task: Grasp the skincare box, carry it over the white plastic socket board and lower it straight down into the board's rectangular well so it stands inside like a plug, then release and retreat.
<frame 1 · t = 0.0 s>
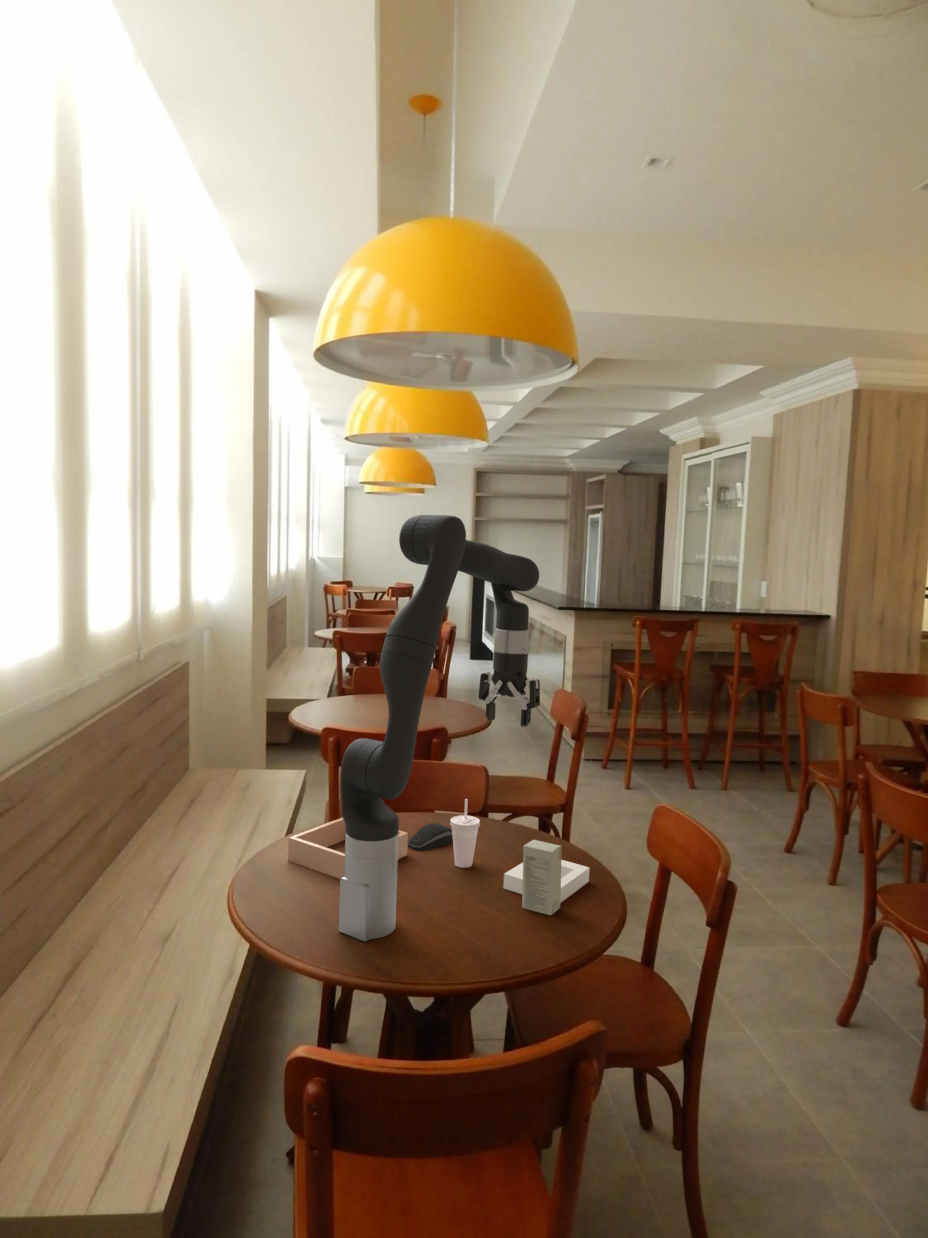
hand: (507, 723, 174), 29 cm above the table, fingers open, 8 cm apart
skincare box: (540, 909, 150), on the table
computer mouse: (431, 844, 181), on the table
socket board: (546, 885, 160), on the table
pink square tray: (348, 858, 170), on the table
smoothie: (463, 865, 169), on the table
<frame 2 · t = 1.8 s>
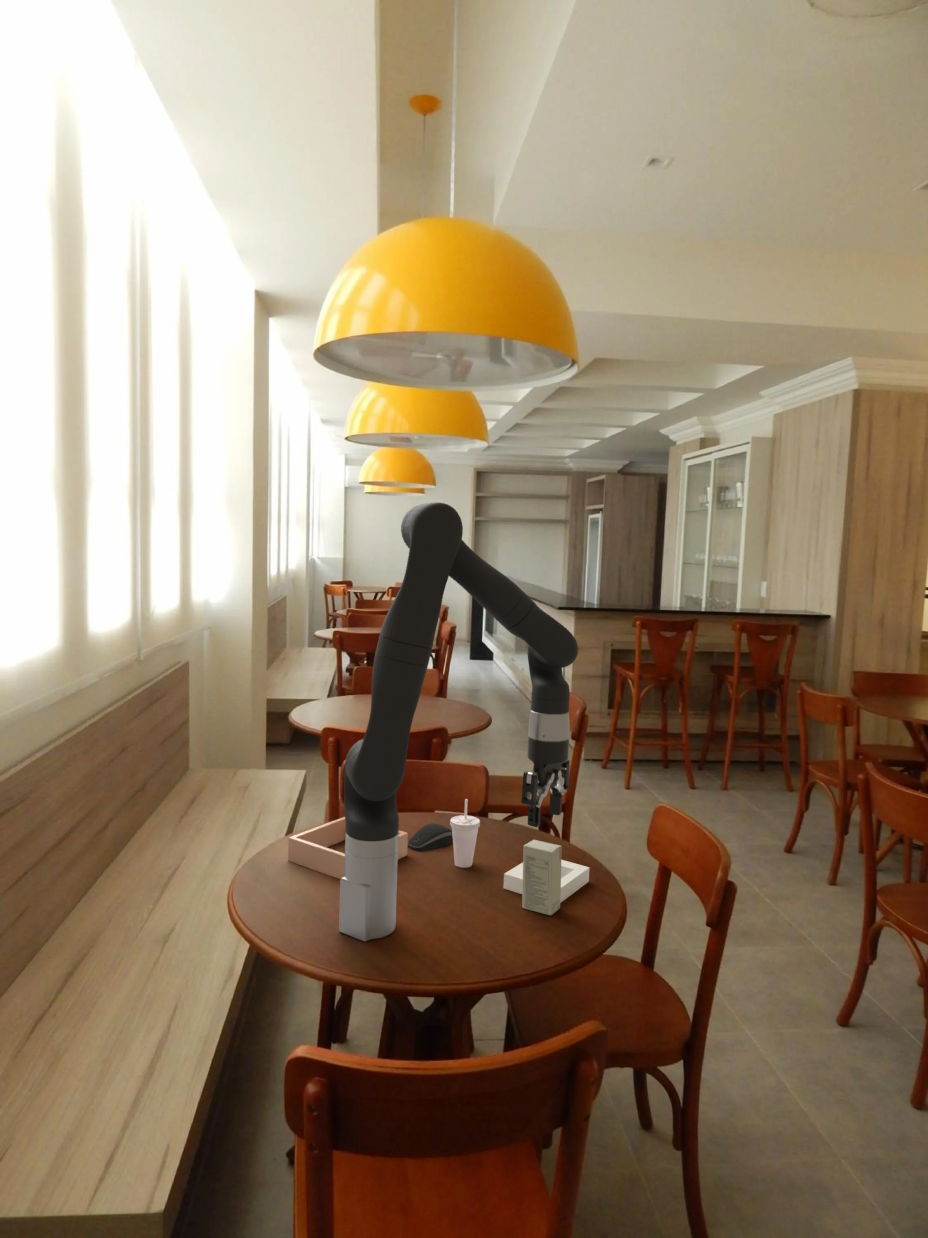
hand: (544, 820, 148), 17 cm above the table, fingers open, 8 cm apart
nothing on the table moved.
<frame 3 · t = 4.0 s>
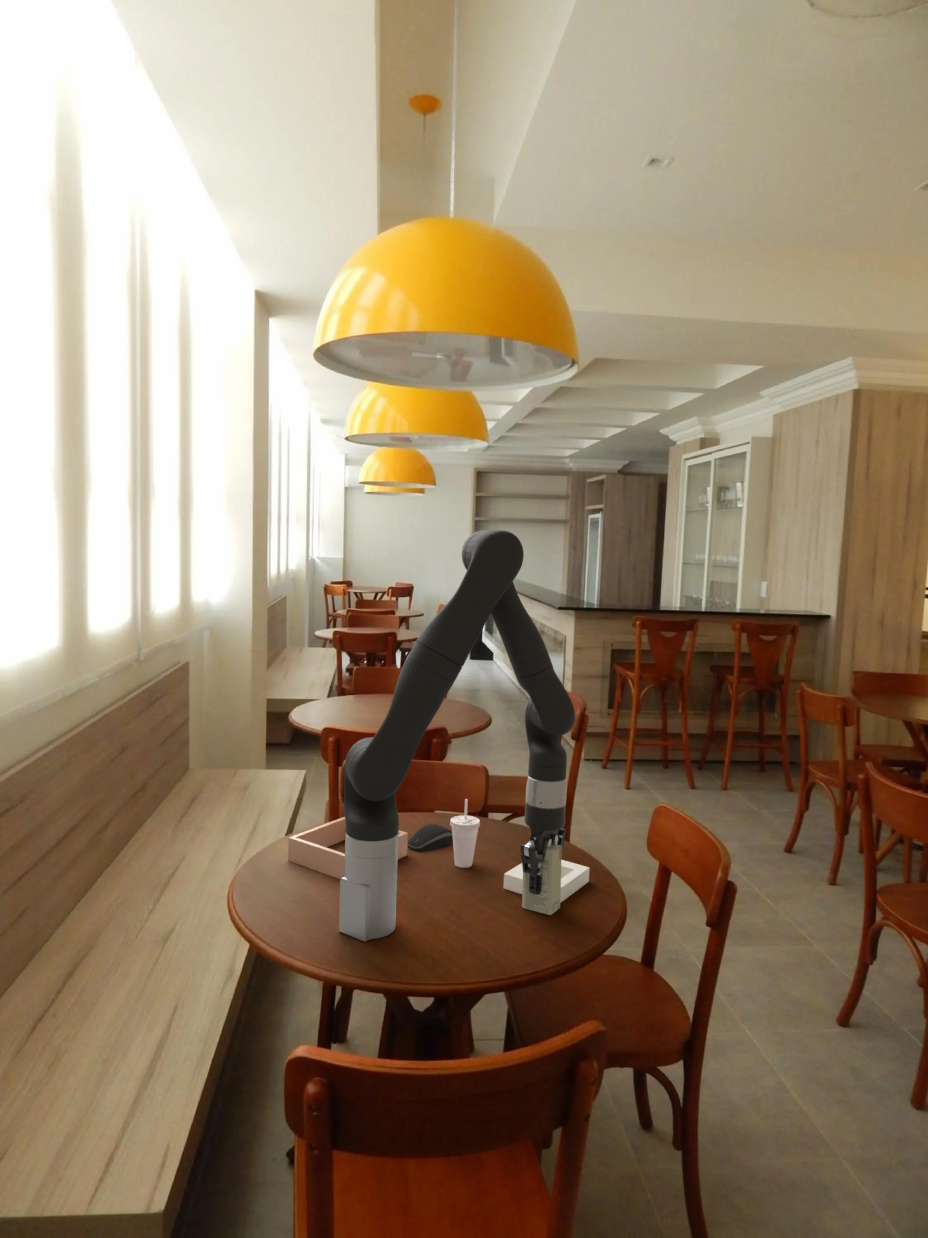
hand: (541, 888, 149), 4 cm above the table, fingers closed on skincare box, 4 cm apart
skincare box: (540, 909, 150), on the table, touching gripper
everything else where it was.
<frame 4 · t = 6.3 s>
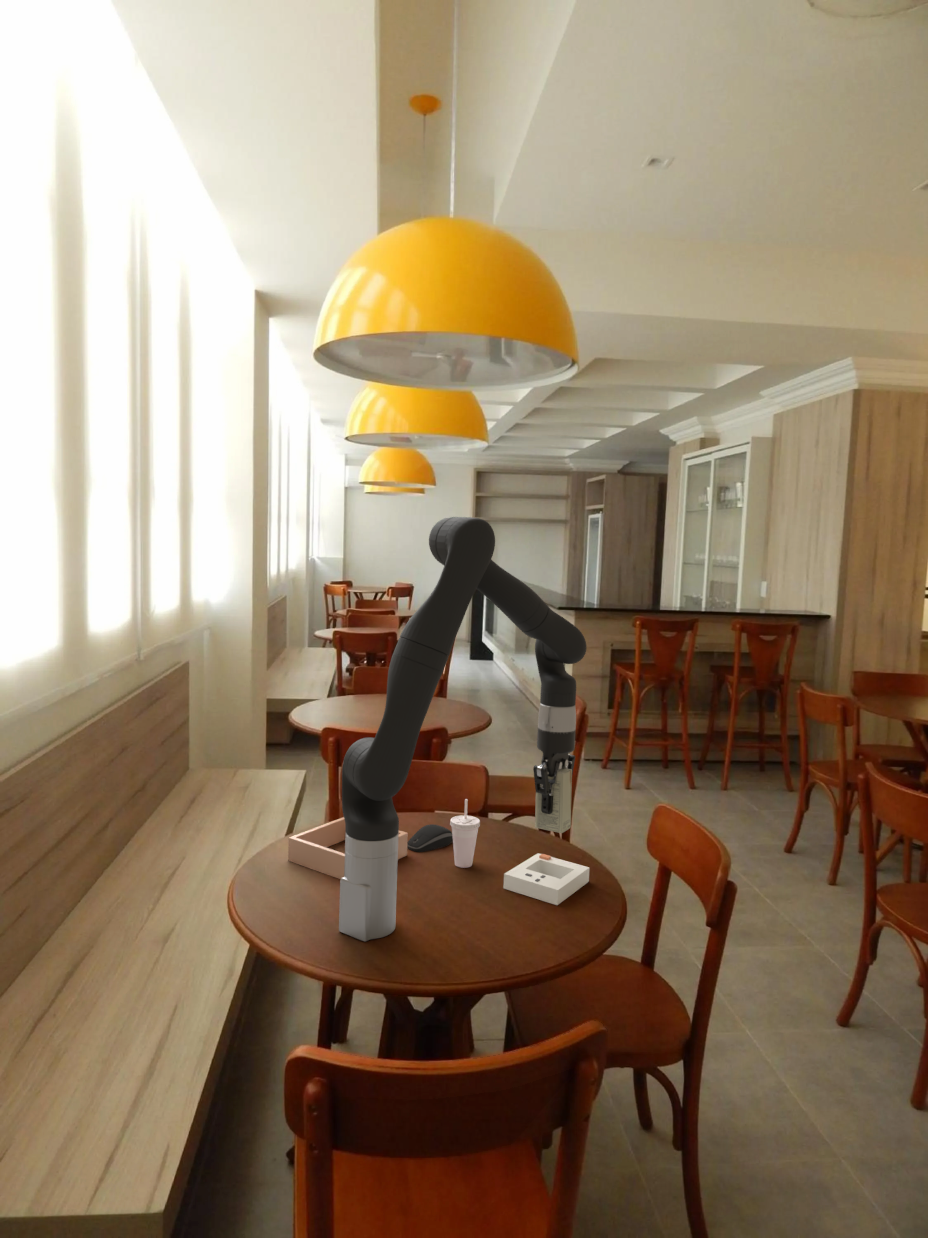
hand: (552, 809, 160), 15 cm above the table, fingers closed on skincare box, 4 cm apart
skincare box: (552, 829, 160), point 11 cm above the table, touching gripper
everything else where it was.
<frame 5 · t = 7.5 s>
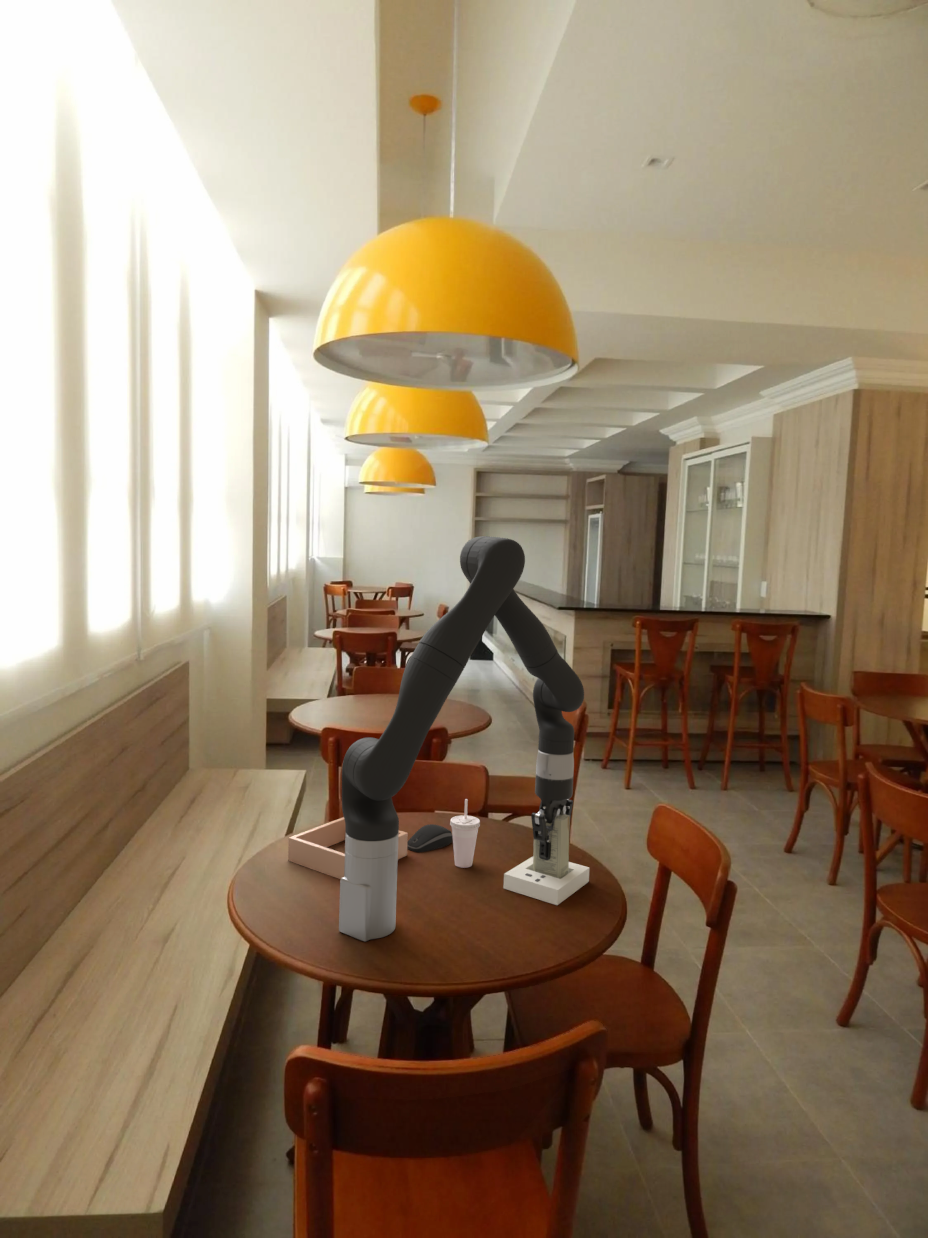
hand: (550, 855, 160), 6 cm above the table, fingers closed on skincare box, 4 cm apart
skincare box: (549, 874, 161), point 2 cm above the table, touching gripper
when the fingers open (5 cm above the table, at t = 8.5 s): skincare box stays where it is, resting in socket board.
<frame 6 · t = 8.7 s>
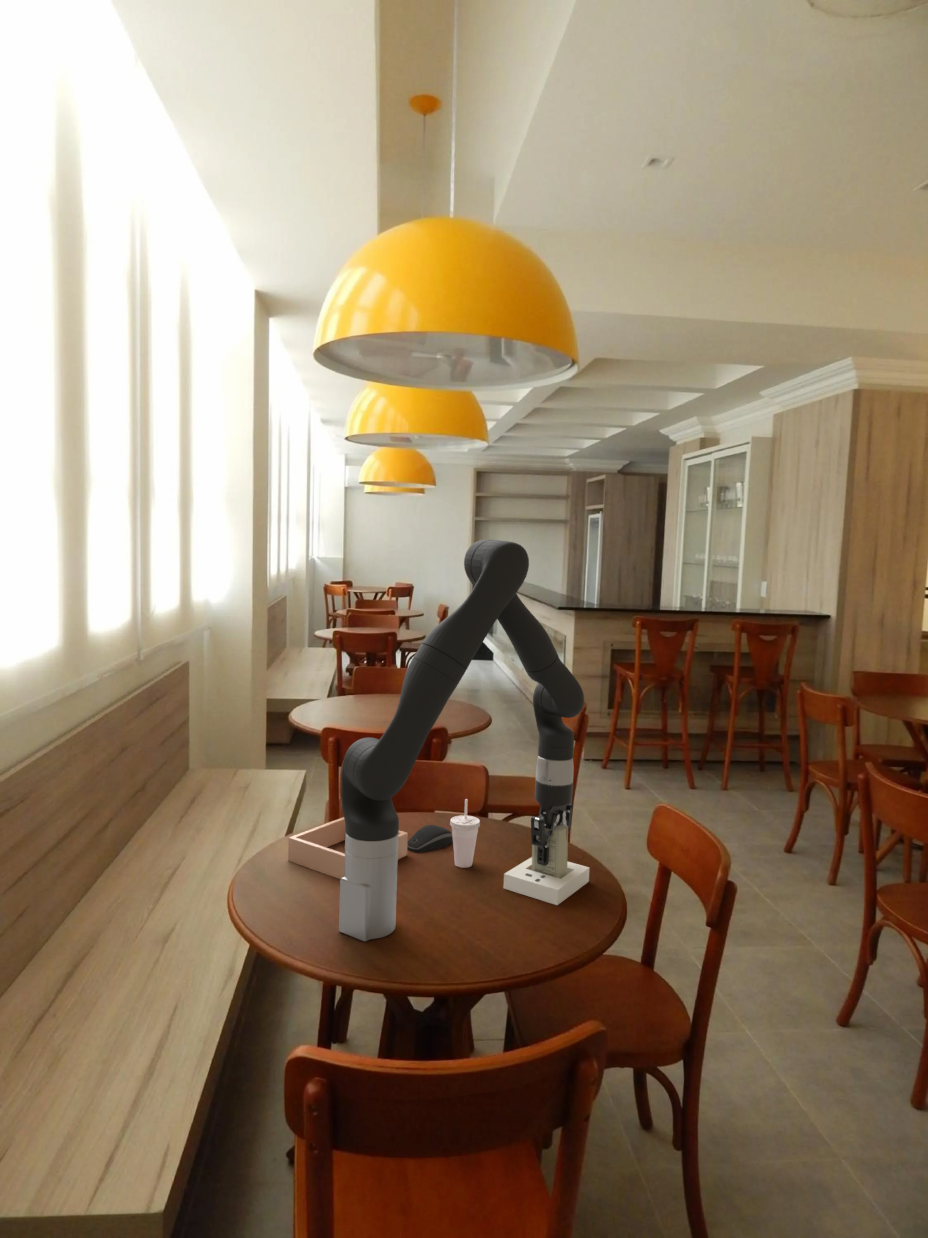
hand: (550, 859, 160), 5 cm above the table, fingers open, 6 cm apart
skincare box: (548, 884, 161), resting in socket board
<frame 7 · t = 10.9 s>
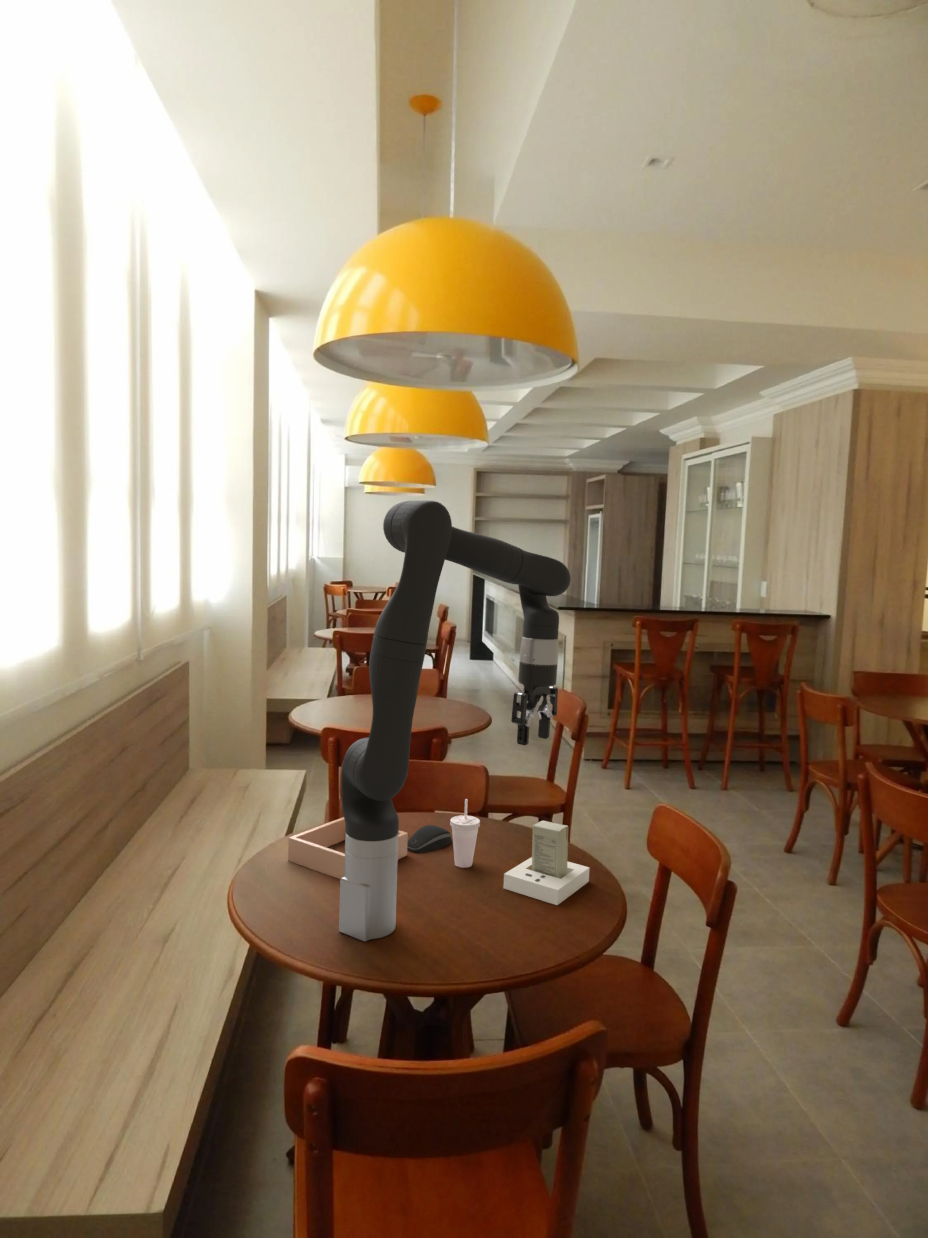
hand: (533, 741, 158), 29 cm above the table, fingers open, 8 cm apart
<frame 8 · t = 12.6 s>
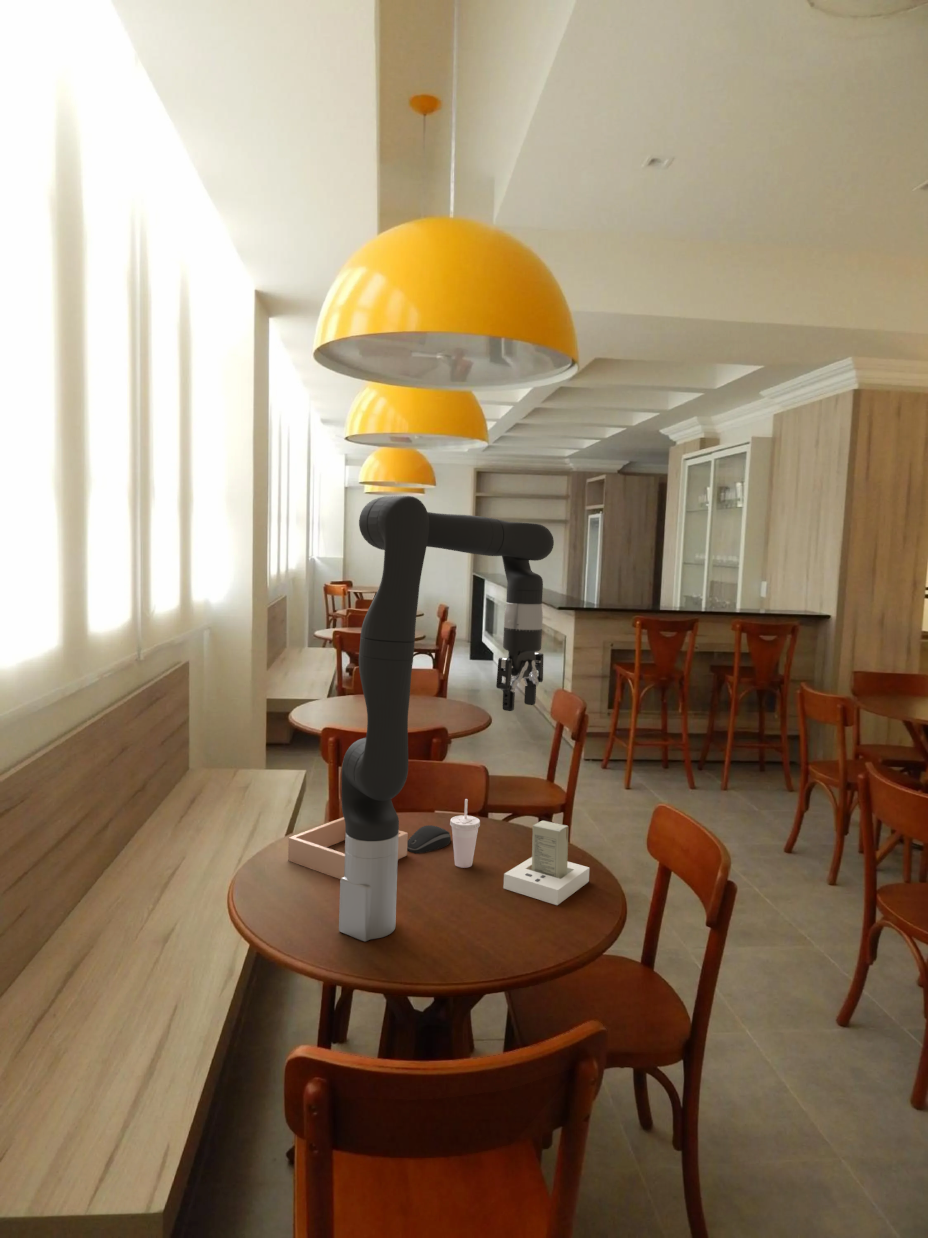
hand: (519, 707, 157), 36 cm above the table, fingers open, 8 cm apart
at the end: skincare box 0.2 cm from the target spot on the socket board, point 0.0 cm above the socket board's base; skincare box touching table; skincare box tilted 0° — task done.
